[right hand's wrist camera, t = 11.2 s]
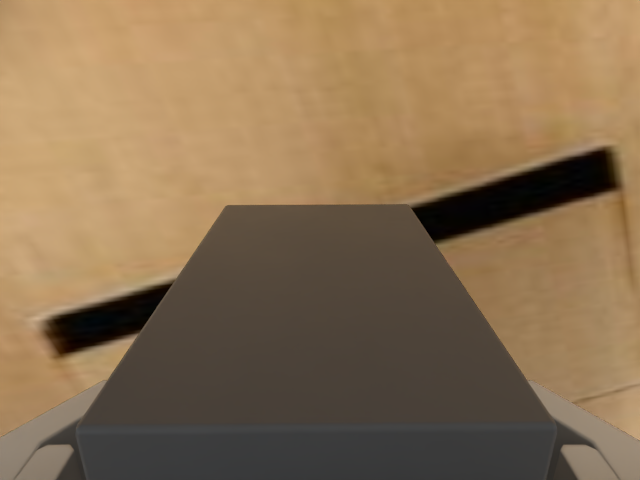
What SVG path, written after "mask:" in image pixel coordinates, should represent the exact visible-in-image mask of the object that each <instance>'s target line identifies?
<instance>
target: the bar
mask: <svg viewBox="0 0 640 480" xmlns="http://www.w3.org/2000/svg"><path fill="white" fill-rule="evenodd" d="M556 435H557V426H556V423H555V421H554V420H553V418H552V417H551V415H550V414H549V412H548V411H547V409H546V408H545V406H544V405H543V403H542V402H541V400H540V399H539V397H538V396H537V394H536V393H535V391H534V390H533V388H532V387H531V385H530V384H529V382H528V381H527V380H526V378H525V377H524V375H523V374H522V372H521V371H520V369H519V368H518V366H517V365H516V363H515V362H514V360H513V359H512V357H511V356H510V354H509V353H508V351H507V350H506V348H505V347H504V345H503V344H502V343H501V341H500V340H499V338H498V337H497V335H496V334H495V332H494V331H493V329H492V328H491V326H490V325H489V323H488V322H487V320H486V319H485V317H484V316H483V314H482V313H481V311H480V310H479V308H478V307H477V305H476V304H475V303H474V301H473V300H472V298H471V297H470V295H469V294H468V292H467V291H466V289H465V288H464V286H463V285H462V283H461V282H460V280H459V279H458V277H457V276H456V274H455V273H454V271H453V270H452V268H451V267H450V265H449V264H448V263H447V261H446V260H445V258H444V257H443V255H442V254H441V252H440V251H439V249H438V248H437V246H436V245H435V243H434V242H433V240H432V239H431V237H430V236H429V234H428V233H427V231H426V230H425V228H424V227H423V226H422V224H421V223H420V221H419V220H418V218H417V217H416V215H415V214H414V212H413V211H412V209H411V208H410V206H409V205H407V204H397V205H227V206H225V208H224V209H223V211H222V212H221V214H220V215H219V217H218V218H217V220H216V221H215V223H214V224H213V226H212V227H211V229H210V230H209V231H208V233H207V234H206V236H205V237H204V239H203V240H202V242H201V243H200V245H199V246H198V248H197V249H196V251H195V252H194V254H193V255H192V257H191V258H190V259H189V261H188V262H187V264H186V265H185V267H184V268H183V270H182V271H181V273H180V274H179V276H178V277H177V279H176V280H175V282H174V283H173V285H172V286H171V287H170V289H169V290H168V292H167V293H166V295H165V296H164V298H163V299H162V301H161V302H160V304H159V305H158V307H157V308H156V310H155V311H154V313H153V314H152V315H151V317H150V318H149V320H148V321H147V323H146V324H145V326H144V327H143V329H142V330H141V332H140V333H139V335H138V336H137V338H136V339H135V341H134V342H133V344H132V345H131V346H130V348H129V349H128V351H127V352H126V354H125V355H124V357H123V358H122V360H121V361H120V363H119V364H118V366H117V367H116V369H115V370H114V372H113V373H112V374H111V376H110V377H109V379H108V380H107V382H106V383H105V385H104V386H103V388H102V389H101V391H100V392H99V394H98V395H97V397H96V398H95V400H94V401H93V402H92V404H91V405H90V407H89V408H88V410H87V411H86V413H85V414H84V416H83V417H82V419H81V420H80V422H79V423H78V425H77V427H76V431H75V436H76V440H77V444H78V448H79V452H80V456H81V460H82V464H83V468H84V472H85V477H86V480H546V478H547V474H548V470H549V465H550V461H551V457H552V452H553V448H554V444H555V439H556Z"/></svg>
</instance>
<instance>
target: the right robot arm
mask: <svg viewBox="0 0 640 480" xmlns="http://www.w3.org/2000/svg"><path fill="white" fill-rule="evenodd" d="M527 381H528V382H529V384H530V385H531V387H532V388H533V390H534V391H535V393H536V394H537V396H538V397H539V399H540V400H541V402H542V403H543V405H544V406H545V408H546V409H547V411H548V412H549V414H550V415H551V417H552V418H553V420H554V421H555V423H556V426H557V435H556V439H555V444H554V448H553V452H552V457H551V461H550V465H549V470H548V474H547V478H546V480H640V441H639V440H638V439H636V438H634V437H632V436H630V435H629V434H627V433H625V432H623V431H622V430H620V429H618V428H616V427H614V426H613V425H611V424H609V423H607V422H605V421H604V420H602V419H600V418H598V417H597V416H595V415H593V414H591V413H589V412H588V411H586V410H584V409H582V408H580V407H579V406H577V405H575V404H573V403H572V402H570V401H568V400H566V399H564V398H563V397H561V396H559V395H557V394H555V393H554V392H552V391H550V390H548V389H547V388H545V387H543V386H541V385H539V384H538V383H536V382H534V381H532V380H527ZM106 382H107V380H103V381H101V382H99V383H98V384H96V385H94V386H92V387H90V388H89V389H87V390H85V391H83V392H81V393H80V394H78V395H76V396H74V397H72V398H70V399H69V400H67V401H65V402H63V403H61V404H60V405H58V406H56V407H54V408H52V409H51V410H49V411H47V412H45V413H43V414H42V415H40V416H38V417H36V418H34V419H33V420H31V421H29V422H27V423H25V424H23V425H22V426H20V427H18V428H16V429H14V430H13V431H11V432H9V433H7V434H5V435H4V436H2V437H0V480H86V477H85V472H84V468H83V464H82V460H81V456H80V452H79V448H78V444H77V440H76V436H75V431H76V427H77V425H78V423H79V422H80V420H81V419H82V417H83V416H84V414H85V413H86V411H87V410H88V408H89V407H90V405H91V404H92V402H93V401H94V400H95V398H96V397H97V395H98V394H99V392H100V391H101V389H102V388H103V386H104V385H105V383H106Z"/></svg>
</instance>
